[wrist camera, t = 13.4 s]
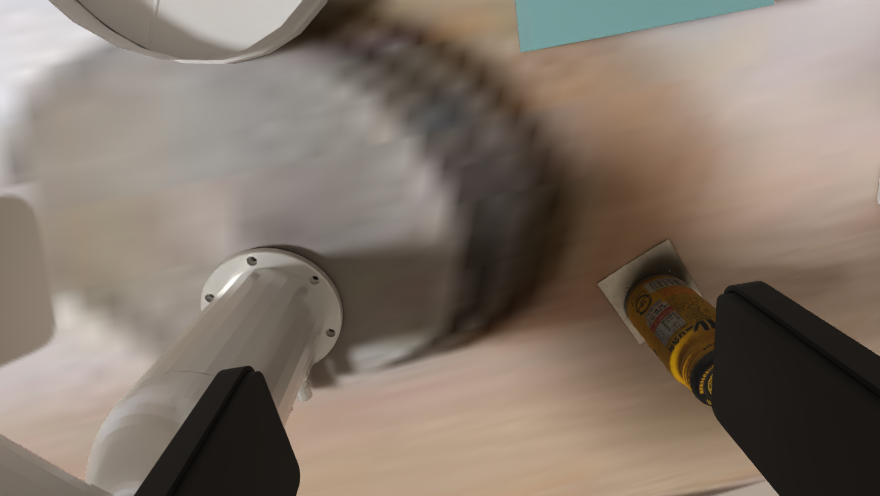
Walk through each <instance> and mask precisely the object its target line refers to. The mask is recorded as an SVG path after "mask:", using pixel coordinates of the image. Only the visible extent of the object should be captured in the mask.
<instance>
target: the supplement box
mask: <svg viewBox="0 0 880 496" xmlns="http://www.w3.org/2000/svg"><path fill="white" fill-rule="evenodd" d="M877 203H878V204H879V205H880V180H879V188H878V195H877Z"/></svg>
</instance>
